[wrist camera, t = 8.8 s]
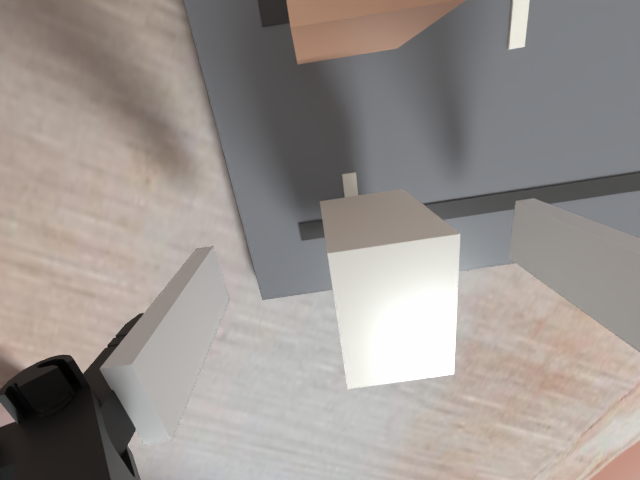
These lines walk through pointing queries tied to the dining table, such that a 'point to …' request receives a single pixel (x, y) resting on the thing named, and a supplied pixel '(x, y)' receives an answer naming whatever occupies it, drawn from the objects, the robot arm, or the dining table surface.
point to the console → (425, 124)
